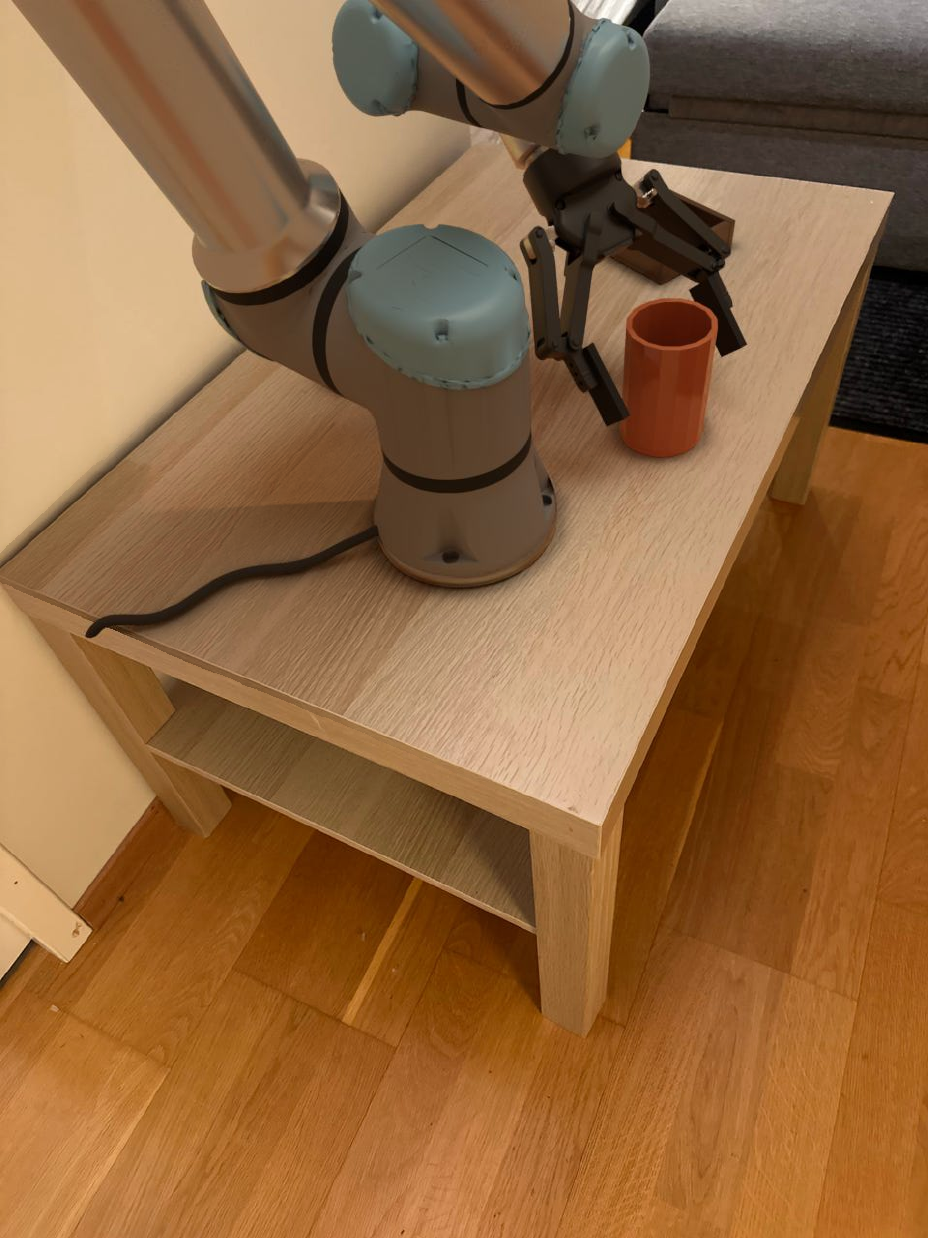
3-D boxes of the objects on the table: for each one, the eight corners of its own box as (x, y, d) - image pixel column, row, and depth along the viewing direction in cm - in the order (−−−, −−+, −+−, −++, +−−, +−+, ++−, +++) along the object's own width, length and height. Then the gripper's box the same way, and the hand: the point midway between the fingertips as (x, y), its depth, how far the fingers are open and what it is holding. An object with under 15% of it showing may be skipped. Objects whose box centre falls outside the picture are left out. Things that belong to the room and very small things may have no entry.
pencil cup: (659, 468, 77) (671, 361, 69) (603, 428, 81) (607, 322, 73) (718, 431, 80) (737, 323, 71) (661, 394, 84) (672, 287, 75)
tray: (661, 284, 95) (663, 257, 92) (594, 247, 101) (594, 221, 98) (731, 247, 98) (735, 219, 96) (663, 213, 104) (665, 186, 101)
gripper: (647, 119, 79) (751, 337, 83) (419, 226, 72) (545, 461, 75) (698, 70, 72) (809, 309, 76) (452, 182, 65) (588, 443, 68)
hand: (678, 385), depth 76 cm, fingers open, 13 cm apart
